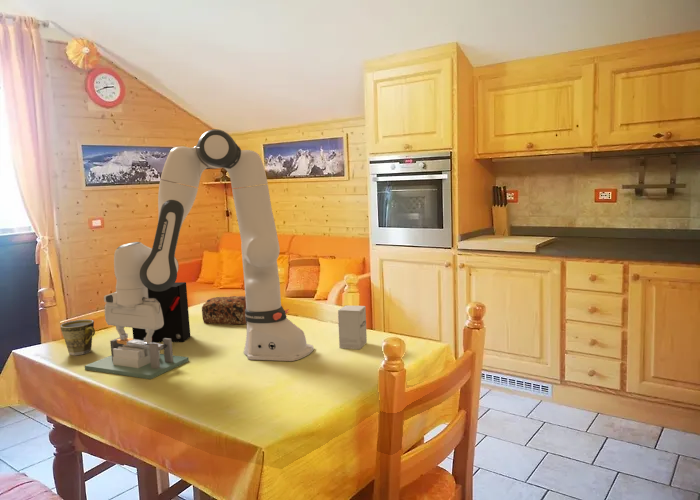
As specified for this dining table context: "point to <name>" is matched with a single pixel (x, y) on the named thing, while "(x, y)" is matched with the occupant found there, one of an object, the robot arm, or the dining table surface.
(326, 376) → the dining table surface
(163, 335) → the electrical component
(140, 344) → the grey flat bar
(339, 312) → the supplement box
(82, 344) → the ceramic cup
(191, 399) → the dining table surface
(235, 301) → the bread
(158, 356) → the board
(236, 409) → the dining table surface
